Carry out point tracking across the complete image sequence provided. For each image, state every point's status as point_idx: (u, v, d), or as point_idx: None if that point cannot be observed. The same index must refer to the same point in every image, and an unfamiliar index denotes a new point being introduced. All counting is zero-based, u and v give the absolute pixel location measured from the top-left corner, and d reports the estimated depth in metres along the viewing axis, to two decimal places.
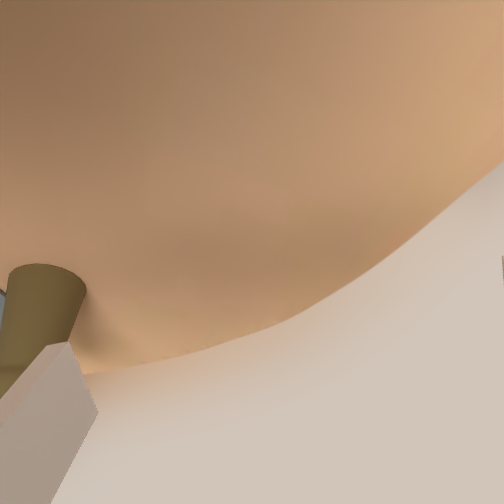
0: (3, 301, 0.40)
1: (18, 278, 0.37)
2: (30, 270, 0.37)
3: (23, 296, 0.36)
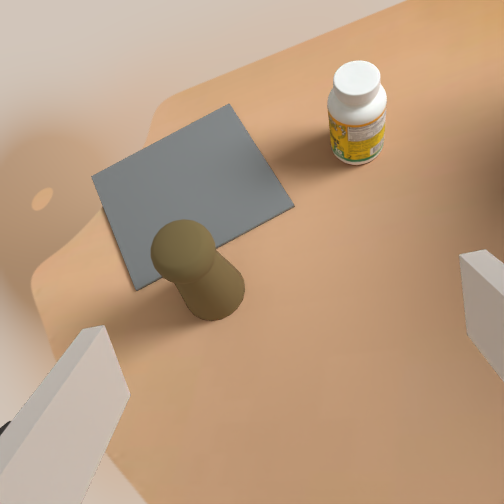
0: None
1: (234, 267, 0.46)
2: (240, 276, 0.46)
3: (232, 268, 0.44)
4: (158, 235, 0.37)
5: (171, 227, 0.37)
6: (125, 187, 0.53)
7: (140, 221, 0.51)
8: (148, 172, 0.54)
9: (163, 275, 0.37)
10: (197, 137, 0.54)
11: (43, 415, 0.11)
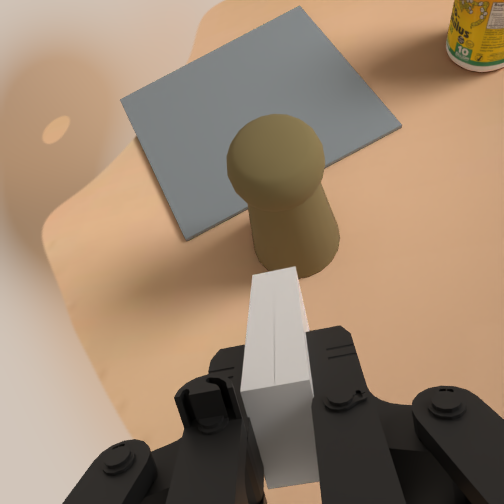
0: None
1: None
2: None
3: None
4: (240, 136, 0.25)
5: (260, 123, 0.25)
6: (165, 111, 0.41)
7: (188, 152, 0.38)
8: (196, 91, 0.41)
9: (248, 195, 0.24)
10: (259, 47, 0.41)
11: (275, 335, 0.12)
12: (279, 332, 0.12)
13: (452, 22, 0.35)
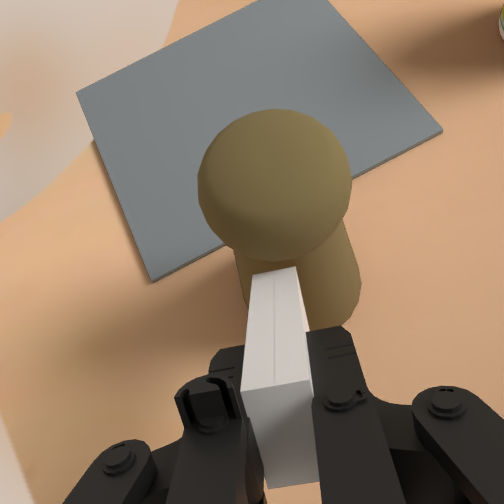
0: None
1: None
2: None
3: None
4: (218, 142, 0.16)
5: (250, 123, 0.16)
6: (132, 107, 0.31)
7: (158, 162, 0.29)
8: (172, 83, 0.32)
9: (230, 238, 0.15)
10: (254, 27, 0.32)
11: (275, 335, 0.12)
12: (279, 332, 0.12)
13: None
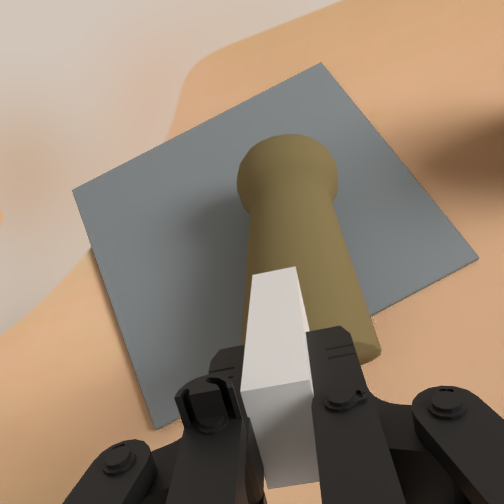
0: None
1: None
2: None
3: None
4: None
5: None
6: (134, 212, 0.29)
7: (163, 281, 0.26)
8: (177, 184, 0.29)
9: (250, 156, 0.23)
10: (266, 121, 0.30)
11: (275, 335, 0.12)
12: (279, 332, 0.12)
13: None
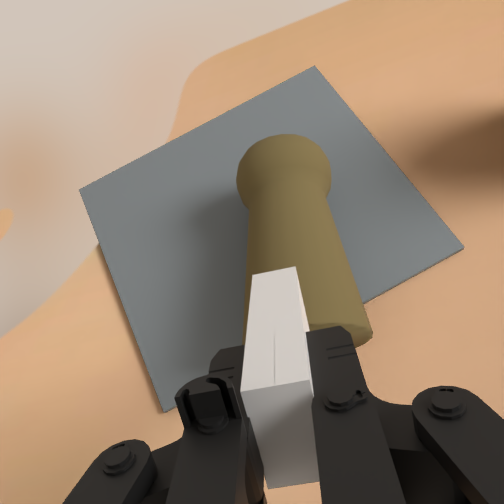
0: None
1: None
2: None
3: None
4: None
5: None
6: (139, 209, 0.30)
7: (168, 274, 0.28)
8: (179, 183, 0.31)
9: (248, 155, 0.25)
10: (263, 122, 0.31)
11: (275, 335, 0.12)
12: (279, 332, 0.12)
13: None
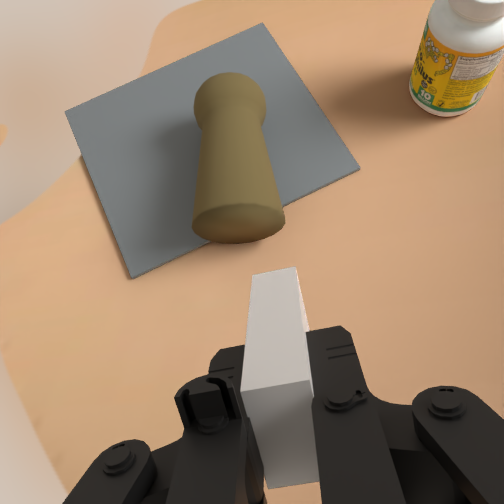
0: None
1: None
2: None
3: None
4: None
5: None
6: (114, 129, 0.38)
7: (137, 179, 0.36)
8: (148, 110, 0.38)
9: (203, 86, 0.33)
10: (218, 66, 0.39)
11: (275, 336, 0.12)
12: (279, 332, 0.12)
13: (417, 65, 0.34)
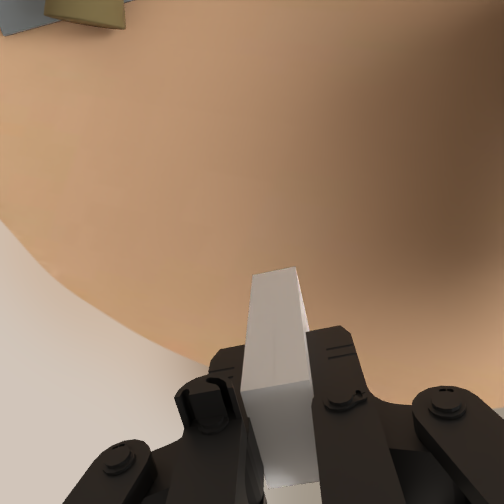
0: None
1: None
2: None
3: None
4: None
5: None
6: None
7: None
8: None
9: None
10: None
11: (275, 335, 0.12)
12: (279, 332, 0.12)
13: None
